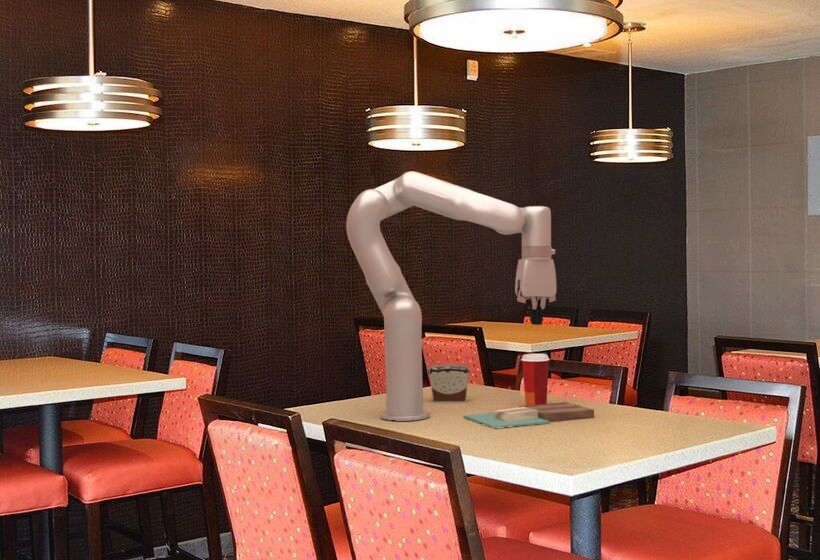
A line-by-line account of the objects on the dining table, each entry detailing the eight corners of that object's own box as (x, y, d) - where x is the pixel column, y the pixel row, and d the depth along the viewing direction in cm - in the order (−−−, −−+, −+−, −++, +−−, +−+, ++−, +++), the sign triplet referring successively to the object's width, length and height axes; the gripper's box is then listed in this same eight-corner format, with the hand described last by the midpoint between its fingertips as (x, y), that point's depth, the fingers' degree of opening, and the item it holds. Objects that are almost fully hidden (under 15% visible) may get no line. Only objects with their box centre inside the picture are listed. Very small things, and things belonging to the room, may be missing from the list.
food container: (473, 398, 298) (472, 364, 298) (471, 402, 292) (470, 366, 292) (430, 398, 300) (429, 364, 300) (427, 402, 294) (427, 367, 294)
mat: (463, 417, 267) (463, 415, 267) (515, 412, 272) (515, 410, 272) (495, 429, 250) (494, 426, 250) (549, 423, 256) (549, 421, 256)
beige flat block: (494, 418, 261) (494, 410, 261) (523, 414, 266) (523, 406, 266) (508, 421, 256) (508, 413, 256) (538, 417, 261) (537, 410, 261)
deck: (518, 414, 271) (518, 406, 270) (565, 409, 276) (565, 402, 276) (545, 422, 258) (545, 414, 257) (594, 417, 263) (594, 409, 263)
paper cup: (552, 404, 285) (551, 353, 285) (548, 408, 278) (547, 356, 277) (523, 403, 287) (522, 353, 287) (519, 408, 280) (518, 356, 279)
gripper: (555, 253, 275) (555, 322, 276) (504, 254, 270) (504, 324, 271) (568, 253, 268) (568, 324, 269) (516, 254, 263) (516, 326, 264)
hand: (536, 324), depth 270 cm, fingers closed
